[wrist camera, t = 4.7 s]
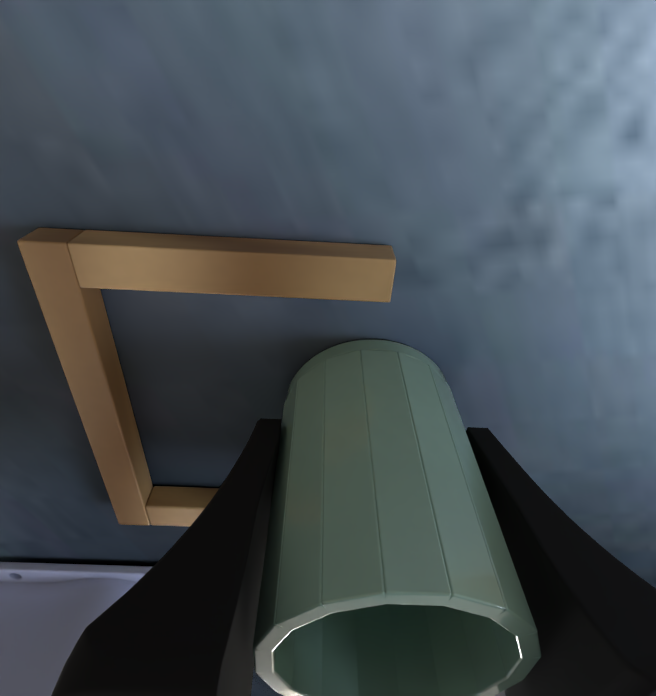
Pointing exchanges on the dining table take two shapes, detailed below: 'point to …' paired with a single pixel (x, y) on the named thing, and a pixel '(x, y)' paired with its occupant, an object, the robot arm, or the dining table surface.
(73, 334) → the cup stand
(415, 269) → the dining table surface
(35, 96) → the dining table surface
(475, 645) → the cup
